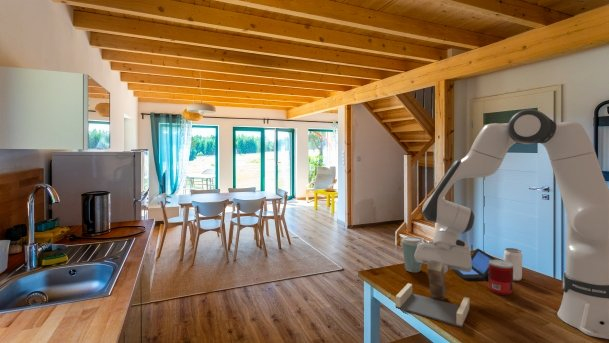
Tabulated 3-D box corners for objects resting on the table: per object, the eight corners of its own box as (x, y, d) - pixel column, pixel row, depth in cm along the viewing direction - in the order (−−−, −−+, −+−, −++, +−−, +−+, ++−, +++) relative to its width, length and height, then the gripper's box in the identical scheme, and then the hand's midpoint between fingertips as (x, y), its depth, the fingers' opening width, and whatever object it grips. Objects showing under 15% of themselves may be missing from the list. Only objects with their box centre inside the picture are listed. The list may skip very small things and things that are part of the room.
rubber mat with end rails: (469, 310, 106) (469, 298, 106) (461, 327, 96) (462, 314, 96) (408, 293, 119) (408, 283, 119) (395, 307, 109) (395, 296, 108)
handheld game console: (448, 267, 146) (448, 247, 145) (476, 267, 146) (477, 247, 145) (464, 281, 130) (465, 259, 130) (497, 281, 130) (497, 259, 129)
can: (524, 281, 129) (525, 252, 128) (507, 280, 130) (508, 252, 129) (517, 275, 135) (517, 248, 134) (500, 274, 136) (501, 247, 135)
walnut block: (446, 292, 116) (443, 262, 111) (443, 300, 113) (440, 269, 108) (433, 289, 119) (430, 260, 114) (430, 297, 116) (427, 267, 111)
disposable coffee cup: (396, 269, 143) (396, 237, 142) (410, 263, 150) (410, 233, 149) (416, 276, 135) (417, 242, 134) (430, 270, 142) (430, 238, 141)
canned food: (516, 296, 116) (517, 267, 115) (492, 294, 118) (493, 265, 117) (507, 287, 123) (508, 260, 123) (485, 285, 125) (485, 258, 124)
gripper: (416, 235, 127) (408, 266, 120) (473, 244, 115) (467, 278, 108) (420, 243, 131) (412, 274, 124) (474, 252, 119) (469, 286, 111)
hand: (438, 276), depth 116 cm, fingers closed
